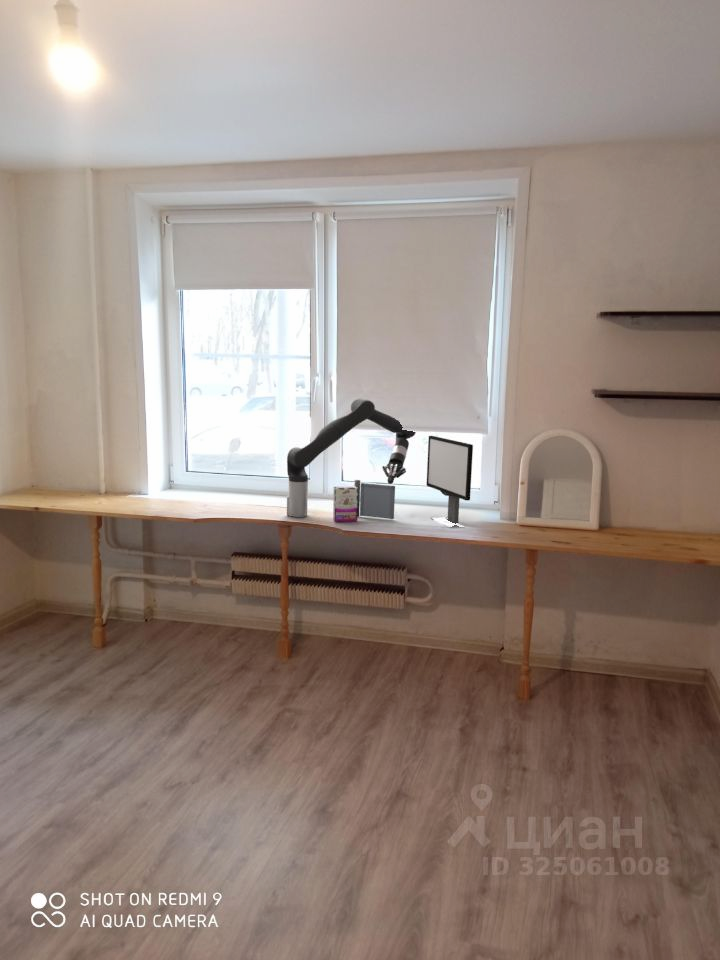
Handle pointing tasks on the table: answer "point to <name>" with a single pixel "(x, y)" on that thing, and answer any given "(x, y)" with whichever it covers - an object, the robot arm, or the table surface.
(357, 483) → the hinge post
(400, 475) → the robot arm
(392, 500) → the gate
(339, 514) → the candy bar box
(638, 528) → the table surface
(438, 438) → the computer monitor
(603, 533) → the table surface
